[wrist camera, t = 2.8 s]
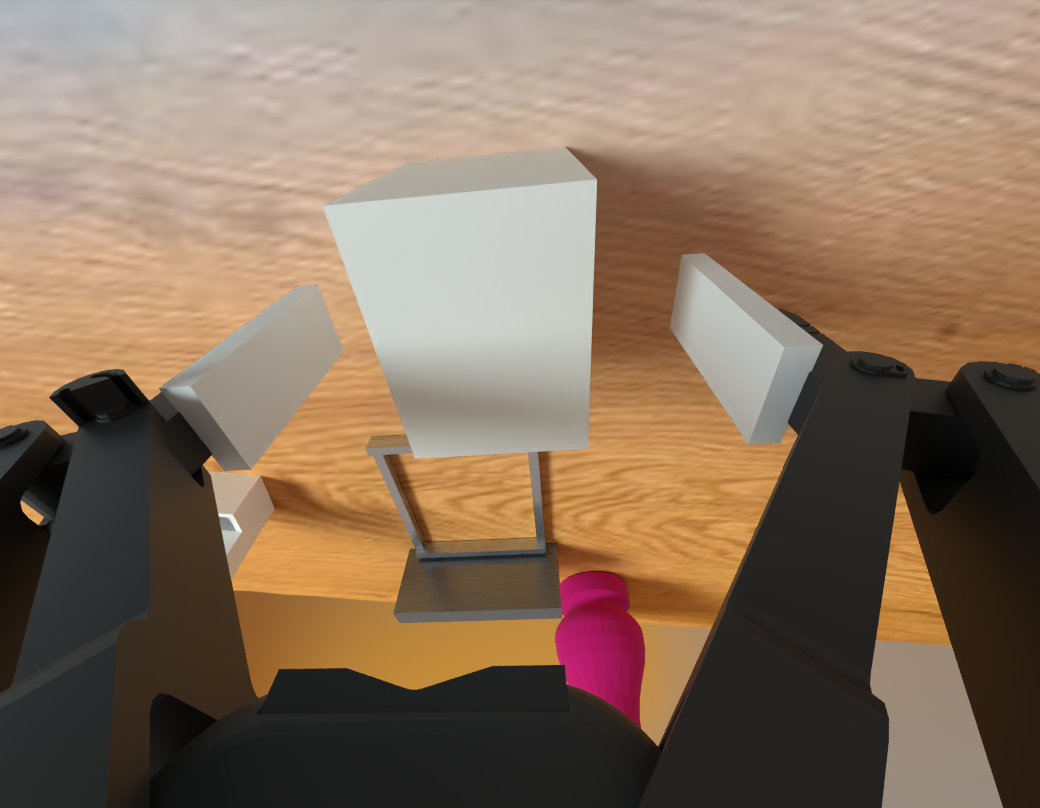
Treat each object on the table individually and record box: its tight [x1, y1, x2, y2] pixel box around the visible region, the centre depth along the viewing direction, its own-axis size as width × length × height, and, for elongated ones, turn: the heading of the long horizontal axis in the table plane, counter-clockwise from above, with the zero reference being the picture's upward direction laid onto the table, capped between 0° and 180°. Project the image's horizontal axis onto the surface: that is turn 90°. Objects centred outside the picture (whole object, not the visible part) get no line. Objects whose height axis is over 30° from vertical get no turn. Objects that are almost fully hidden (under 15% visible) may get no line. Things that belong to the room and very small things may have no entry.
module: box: [323, 147, 597, 458], centre depth 14 cm, size 8×6×8 cm
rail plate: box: [366, 435, 562, 623], centre depth 26 cm, size 14×12×5 cm
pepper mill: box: [555, 572, 645, 728], centre depth 27 cm, size 7×7×20 cm
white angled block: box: [208, 471, 275, 579], centre depth 24 cm, size 4×10×9 cm, turn 83°
